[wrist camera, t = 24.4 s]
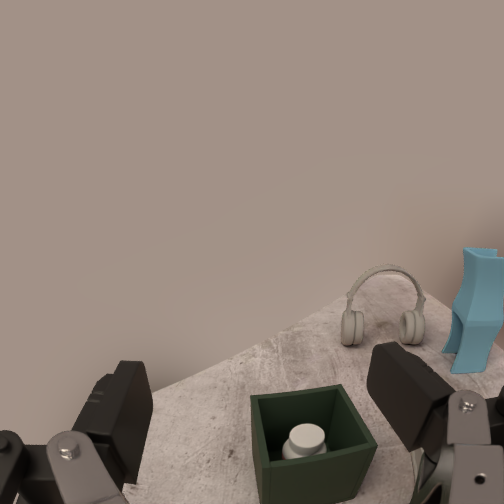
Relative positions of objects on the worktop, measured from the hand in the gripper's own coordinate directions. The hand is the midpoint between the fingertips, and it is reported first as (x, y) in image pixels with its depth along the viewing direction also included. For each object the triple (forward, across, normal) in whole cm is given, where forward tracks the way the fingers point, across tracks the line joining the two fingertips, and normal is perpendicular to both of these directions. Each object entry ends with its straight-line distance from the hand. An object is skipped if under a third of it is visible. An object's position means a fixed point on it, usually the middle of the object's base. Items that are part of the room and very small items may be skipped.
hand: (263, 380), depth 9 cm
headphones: (+46, -35, +30) cm, 65 cm away
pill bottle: (+14, -7, +29) cm, 33 cm away
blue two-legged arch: (+30, -50, +29) cm, 65 cm away
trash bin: (+14, -7, +29) cm, 33 cm away
